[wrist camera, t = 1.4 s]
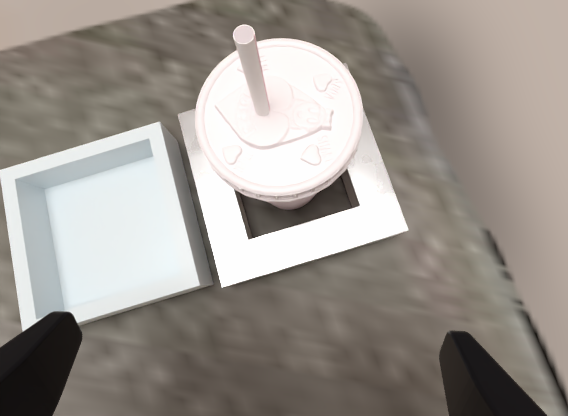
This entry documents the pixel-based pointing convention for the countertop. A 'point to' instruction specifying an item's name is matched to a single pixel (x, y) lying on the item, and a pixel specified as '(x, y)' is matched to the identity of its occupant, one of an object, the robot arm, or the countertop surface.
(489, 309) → the countertop surface
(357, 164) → the bore block
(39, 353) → the robot arm
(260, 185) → the smoothie
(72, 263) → the tray
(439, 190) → the countertop surface
